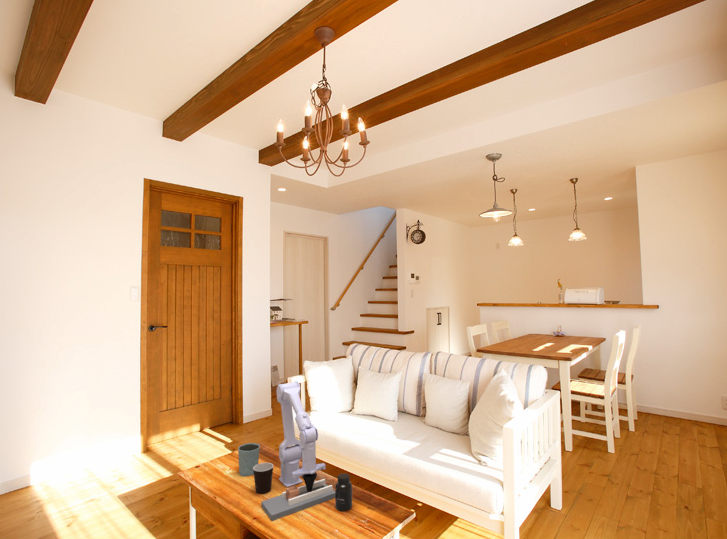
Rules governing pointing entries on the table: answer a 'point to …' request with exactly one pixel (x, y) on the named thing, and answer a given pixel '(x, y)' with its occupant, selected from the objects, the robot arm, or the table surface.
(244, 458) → the grey green planter pot
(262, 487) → the coffee mug
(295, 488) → the block
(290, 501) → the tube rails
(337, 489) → the supplement bottle
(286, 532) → the table surface
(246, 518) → the table surface
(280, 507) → the trap deck
